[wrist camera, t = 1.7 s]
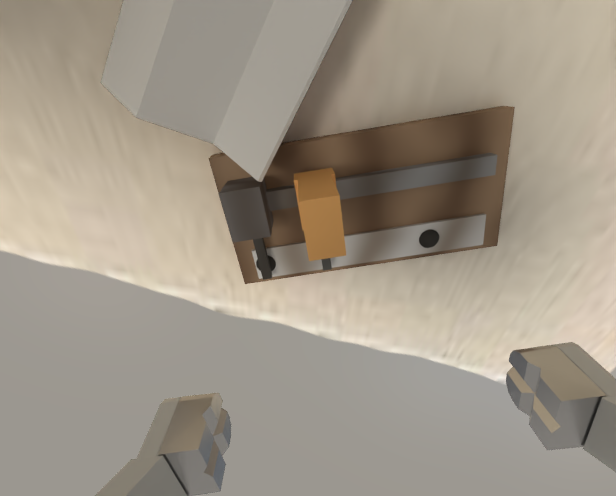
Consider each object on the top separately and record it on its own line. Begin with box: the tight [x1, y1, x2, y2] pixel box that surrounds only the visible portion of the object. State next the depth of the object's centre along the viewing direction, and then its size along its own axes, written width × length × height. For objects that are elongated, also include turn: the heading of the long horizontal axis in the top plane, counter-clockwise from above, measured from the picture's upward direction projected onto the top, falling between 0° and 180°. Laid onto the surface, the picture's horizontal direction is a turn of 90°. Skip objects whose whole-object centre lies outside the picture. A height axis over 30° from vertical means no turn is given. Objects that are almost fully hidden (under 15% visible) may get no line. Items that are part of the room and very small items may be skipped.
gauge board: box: [209, 106, 515, 284], centre depth 27 cm, size 24×12×5 cm, turn 99°
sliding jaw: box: [294, 168, 346, 271], centre depth 24 cm, size 3×9×8 cm, turn 9°
